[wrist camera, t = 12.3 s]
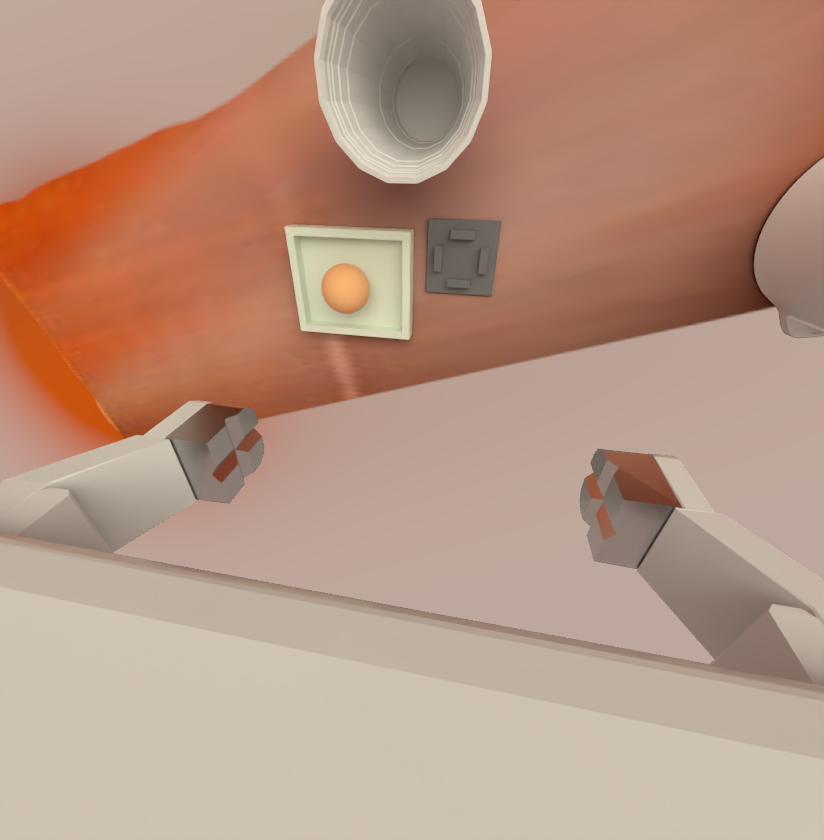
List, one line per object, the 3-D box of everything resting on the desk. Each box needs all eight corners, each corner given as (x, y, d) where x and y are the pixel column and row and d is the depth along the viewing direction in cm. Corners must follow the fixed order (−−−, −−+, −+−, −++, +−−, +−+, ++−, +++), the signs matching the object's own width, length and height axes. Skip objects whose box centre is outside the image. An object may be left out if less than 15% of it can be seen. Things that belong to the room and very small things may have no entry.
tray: (413, 229, 37) (410, 231, 36) (412, 333, 43) (409, 339, 42) (293, 224, 39) (284, 226, 37) (308, 324, 45) (301, 330, 44)
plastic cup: (382, 192, 36) (340, 200, 26) (352, 39, 30) (285, -23, 20) (495, 167, 33) (497, 165, 23) (486, -6, 28) (484, -102, 18)
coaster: (501, 221, 35) (501, 222, 35) (491, 295, 39) (491, 297, 39) (429, 218, 36) (427, 219, 36) (426, 290, 40) (425, 293, 40)
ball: (375, 260, 39) (357, 270, 35) (377, 308, 42) (360, 322, 38) (332, 257, 40) (309, 266, 36) (336, 304, 43) (316, 317, 39)
